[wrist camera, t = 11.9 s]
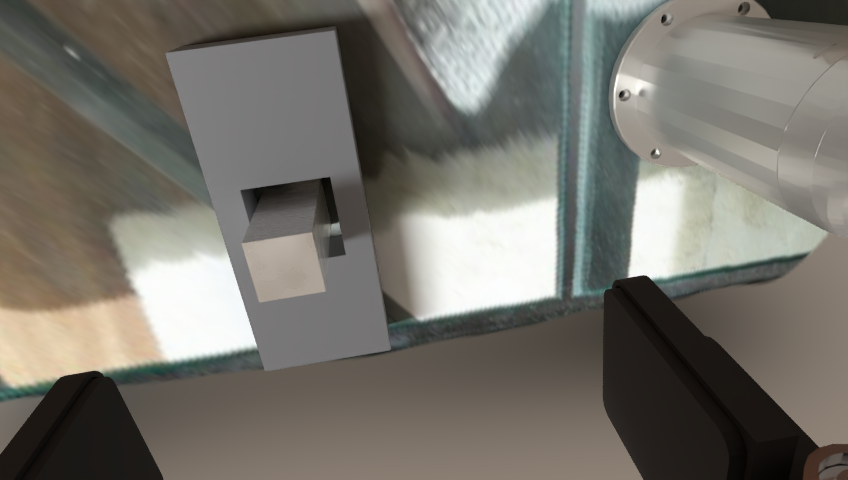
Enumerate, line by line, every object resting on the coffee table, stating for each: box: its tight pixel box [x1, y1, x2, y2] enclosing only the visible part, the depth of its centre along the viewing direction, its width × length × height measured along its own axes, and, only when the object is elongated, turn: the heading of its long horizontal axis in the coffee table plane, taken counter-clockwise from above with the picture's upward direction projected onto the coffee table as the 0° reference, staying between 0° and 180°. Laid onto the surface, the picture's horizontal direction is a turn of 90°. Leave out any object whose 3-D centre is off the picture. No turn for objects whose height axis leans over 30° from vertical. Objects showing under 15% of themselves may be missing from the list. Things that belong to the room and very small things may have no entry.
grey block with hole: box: [165, 26, 391, 371], centre depth 39 cm, size 10×24×4 cm, turn 6°
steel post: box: [241, 178, 331, 302], centre depth 36 cm, size 4×4×10 cm
